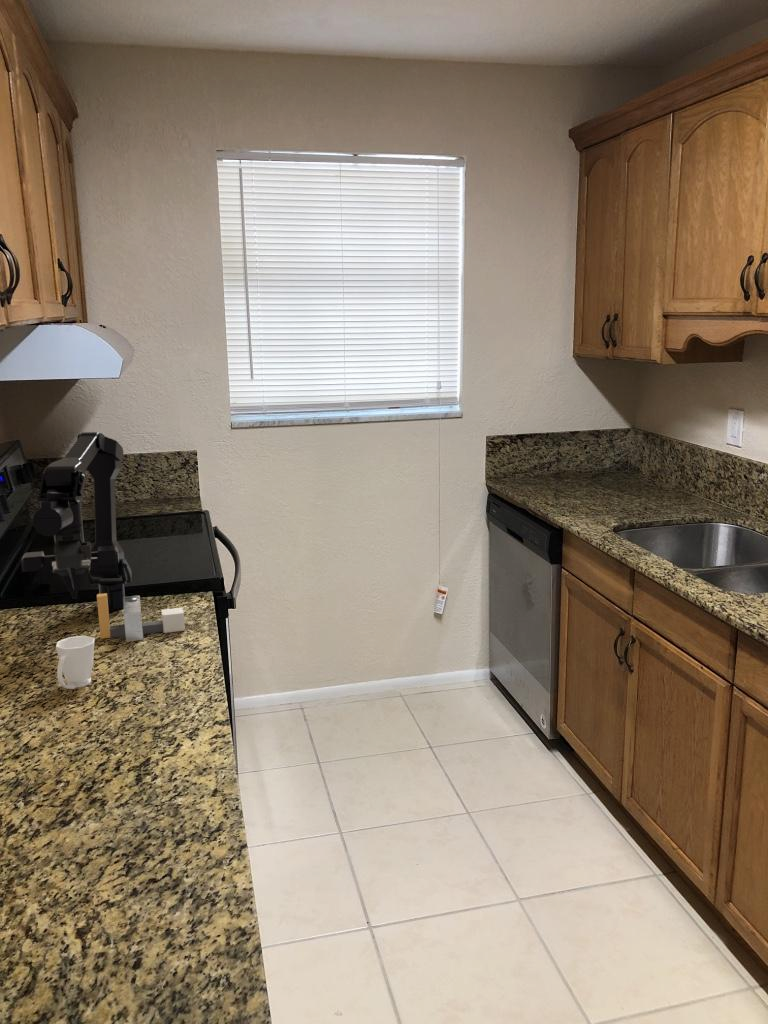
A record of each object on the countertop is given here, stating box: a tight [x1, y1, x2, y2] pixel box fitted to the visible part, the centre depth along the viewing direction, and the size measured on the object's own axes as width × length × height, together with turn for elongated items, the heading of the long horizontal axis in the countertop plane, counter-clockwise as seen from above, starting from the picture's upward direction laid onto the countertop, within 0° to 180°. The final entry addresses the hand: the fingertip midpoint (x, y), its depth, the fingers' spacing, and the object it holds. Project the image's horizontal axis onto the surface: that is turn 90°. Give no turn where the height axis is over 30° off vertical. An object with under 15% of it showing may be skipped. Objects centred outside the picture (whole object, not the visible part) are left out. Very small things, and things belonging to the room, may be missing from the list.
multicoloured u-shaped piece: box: [96, 593, 186, 639], centre depth 178 cm, size 18×4×9 cm, turn 107°
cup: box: [55, 635, 95, 690], centre depth 151 cm, size 7×10×8 cm
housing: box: [123, 595, 144, 643], centre depth 179 cm, size 4×12×6 cm, turn 17°
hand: (74, 597), depth 173 cm, fingers closed
